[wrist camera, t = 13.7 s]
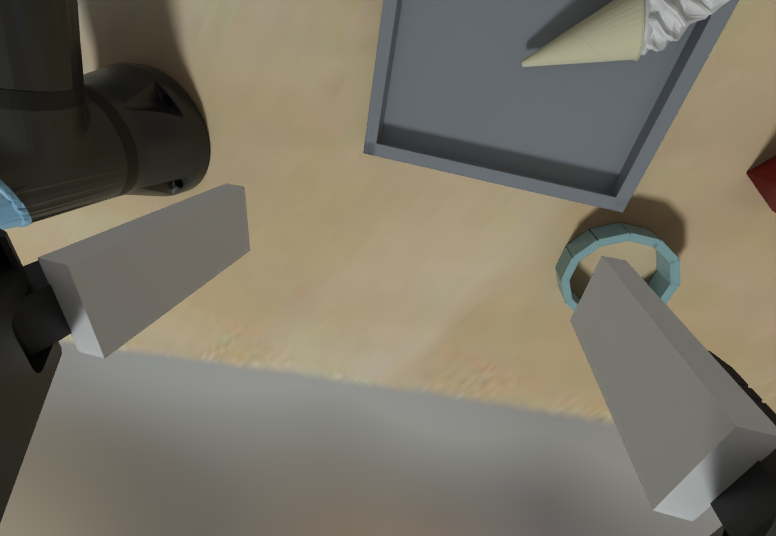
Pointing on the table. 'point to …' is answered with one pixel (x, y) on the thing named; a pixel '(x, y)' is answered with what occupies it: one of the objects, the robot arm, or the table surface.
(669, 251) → the teal ring
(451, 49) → the tray
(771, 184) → the french fries
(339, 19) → the table surface
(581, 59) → the soft serve swirl
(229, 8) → the table surface
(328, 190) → the table surface
